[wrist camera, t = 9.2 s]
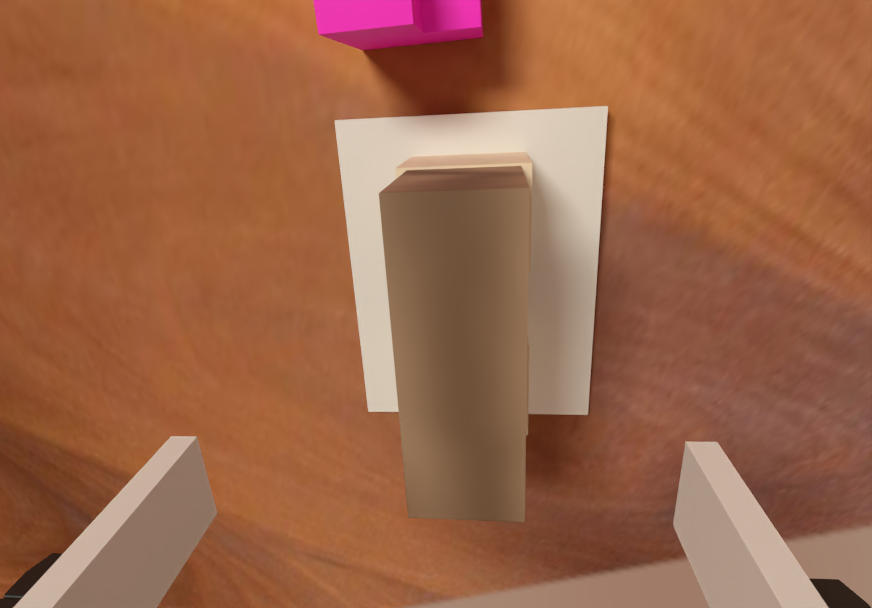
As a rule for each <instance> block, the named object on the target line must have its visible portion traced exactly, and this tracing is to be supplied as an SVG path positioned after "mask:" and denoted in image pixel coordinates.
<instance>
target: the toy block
mask: <svg viewBox="0 0 872 608" xmlns="http://www.w3.org/2000/svg"><path fill="white" fill-rule="evenodd" d="M314 7H315V13H316V20H317V27H318V33H319V35H322V36H324V37H327V38H330V39H333V40H336V41H338V42H341V43H344V44H347V45H349V46H352V47H355V48H358V49H361V50H370V49H379V48H389V47H398V46H408V45H417V44H427V43H436V42H446V41H455V40H465V39H474V38H483V24H482V2H481V0H314Z"/></svg>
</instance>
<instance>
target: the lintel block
mask: <svg viewBox="0 0 872 608" xmlns="http://www.w3.org/2000/svg"><path fill="white" fill-rule="evenodd" d="M379 202H380V213H381V224H382V235H383V246H384V257H385V268H386V279H387V290H388V300H389V311H390V322H391V333H392V344H393V355H394V366H395V377H396V388H397V399H398V410H399V421H400V432H401V443H402V454H403V465H404V476H405V487H406V498H407V508H408V518H431V519H456V520H482V521H507V522H525V471H526V400H527V328H528V256H529V185H528V183H527V180H526V178H525V175H524V172H523V170H522V167H521V166H500V167H476V168H451V169H426V170H407V171H405V172H404V173H403V174H402V175H400V176H399V177H398V178H397V179H395V180H394V181H393V182H392V183H391V184H389V185H388V186H387V187H386V188H384V189H383V190H382V191H381V192H380V193H379Z"/></svg>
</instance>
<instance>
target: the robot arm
mask: <svg viewBox="0 0 872 608" xmlns="http://www.w3.org/2000/svg"><path fill="white" fill-rule="evenodd" d="M216 515H217V510H216V506H215V502H214V498H213V495H212V491H211V487H210V483H209V480H208V476H207V472H206V468H205V465H204V461H203V457H202V453H201V450H200V446H199V442H198V438H197V437H193V436H171V437H170V438H169V439H168V440H167V441H166V442H165V444H164V445H163V446H162V447H161V448H160V449H159V450H158V451H157V452H156V453H155V454H154V455H153V457H152V458H151V459H150V460H149V461H148V462H147V463H146V464H145V465H144V466H143V467H142V469H141V470H140V471H139V472H138V473H137V474H136V475H135V476H134V477H133V478H132V479H131V480H130V482H129V483H128V484H127V485H126V486H125V487H124V488H123V489H122V490H121V491H120V492H119V493H118V495H117V496H116V497H115V498H114V499H113V500H112V501H111V502H110V503H109V504H108V505H107V506H106V508H105V509H104V510H103V511H102V512H101V513H100V514H99V515H98V516H97V517H96V518H95V519H94V521H93V522H92V523H91V524H90V525H89V526H88V527H87V528H86V529H85V530H84V531H83V532H82V534H81V535H80V536H79V537H78V538H77V539H76V540H75V541H74V542H73V543H72V544H71V545H70V547H69V548H68V549H67V550H66V551H65V552H64V553H63V554H58V553H52V554H51V555H50V556H48V557H47V558H45V559H44V560H43V561H41V562H40V563H38V564H37V565H35V566H34V567H33V568H31V569H30V570H28V571H27V572H26V573H25V574H24V575H23V576H22V577H21V578H20V579H19V580H18V581H17V582H16V583H15V584H14V585H13V586H12V587H11V588H10V589H9V590H8V591H7V592H6V593H5V596H4V598H3V599H0V608H157V607H158V605H159V604H160V602H161V600H162V599H163V597H164V596H165V594H166V593H167V591H168V589H169V588H170V586H171V585H172V583H173V582H174V580H175V579H176V577H177V575H178V574H179V572H180V571H181V569H182V568H183V566H184V565H185V563H186V561H187V560H188V558H189V557H190V555H191V554H192V552H193V551H194V549H195V547H196V546H197V544H198V543H199V541H200V540H201V538H202V536H203V535H204V533H205V532H206V530H207V529H208V527H209V526H210V524H211V522H212V521H213V519H214V518H215V516H216ZM673 526H674V529H675V531H676V533H677V535H678V538H679V540H680V542H681V545H682V547H683V549H684V551H685V554H686V556H687V558H688V560H689V563H690V565H691V567H692V569H693V572H694V574H695V576H696V579H697V581H698V583H699V586H700V588H701V590H702V592H703V595H704V597H705V599H706V602H707V604H708V606H709V608H871V607H870V606H869V605H868V604H867V603H866V602H865V601H864V600H863V599H861V598H860V597H859V596H858V595H856V594H855V593H854V592H853V591H852V590H850V589H849V588H848V587H847V586H846V585H845V584H843V583H842V582H841V581H840V580H834V579H833V580H832V579H809V578H808V577H807V575H806V573H805V572H804V571H803V569H802V568H801V566H800V565H799V563H798V562H797V560H796V559H795V557H794V556H793V554H792V553H791V551H790V550H789V548H788V547H787V545H786V544H785V542H784V541H783V539H782V538H781V536H780V535H779V533H778V532H777V530H776V529H775V527H774V526H773V524H772V523H771V521H770V520H769V518H768V517H767V515H766V514H765V512H764V511H763V509H762V508H761V506H760V505H759V504H758V502H757V501H756V499H755V498H754V496H753V495H752V493H751V492H750V490H749V489H748V487H747V486H746V484H745V483H744V481H743V480H742V478H741V477H740V475H739V474H738V472H737V471H736V469H735V468H734V466H733V465H732V463H731V462H730V460H729V459H728V457H727V456H726V454H725V453H724V451H723V450H722V448H721V447H720V445H719V444H718V442H686V443H685V449H684V456H683V462H682V469H681V475H680V482H679V489H678V495H677V502H676V508H675V515H674V522H673Z"/></svg>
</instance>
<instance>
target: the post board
mask: <svg viewBox="0 0 872 608" xmlns="http://www.w3.org/2000/svg"><path fill="white" fill-rule="evenodd" d="M607 115H608V106H594V107H575V108H556V109H537V110H517V111H498V112H479V113H460V114H441V115H422V116H403V117H384V118H365V119H346V120H335V128H336V137H337V145H338V154H339V162H340V171H341V180H342V188H343V197H344V206H345V214H346V223H347V231H348V240H349V249H350V257H351V266H352V275H353V283H354V292H355V300H356V309H357V318H358V326H359V335H360V344H361V352H362V361H363V369H364V378H365V387H366V395H367V404H368V412H399V410H398V399H397V388H396V377H395V366H394V355H393V344H392V333H391V322H390V311H389V300H388V290H387V279H386V268H385V257H384V246H383V235H382V224H381V213H380V202H379V193H380V192H381V191H382V190H383V189H384V188H386V187H387V186H388V185H389V184H391V183H392V182H393V181H394V180H395V179H397V178H398V177H399V176H400V175H402V174H403V173H404V172H405V171H407V170H426V169H451V168H476V167H500V166H521V167H522V170H523V172H524V175H525V178H526V180H527V183H528V185H529V256H528V328H527V400H526V435H528V414H560V415H588V406H589V391H590V376H591V360H592V345H593V330H594V315H595V299H596V284H597V269H598V253H599V238H600V223H601V207H602V192H603V177H604V161H605V146H606V131H607Z"/></svg>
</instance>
